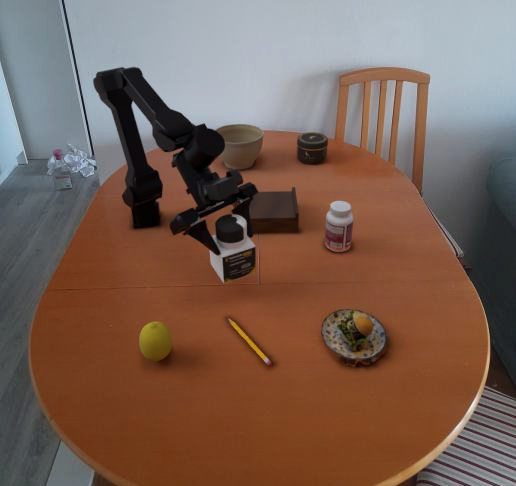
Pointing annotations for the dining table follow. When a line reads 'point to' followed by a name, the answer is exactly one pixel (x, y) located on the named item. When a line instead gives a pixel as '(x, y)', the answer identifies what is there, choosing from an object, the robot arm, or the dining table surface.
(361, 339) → the food bowl
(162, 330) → the lemon
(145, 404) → the dining table surface
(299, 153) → the jar
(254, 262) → the medicine bottle
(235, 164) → the planter bowl
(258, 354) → the pencil
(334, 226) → the pill bottle
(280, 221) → the dark brown lipped tray
